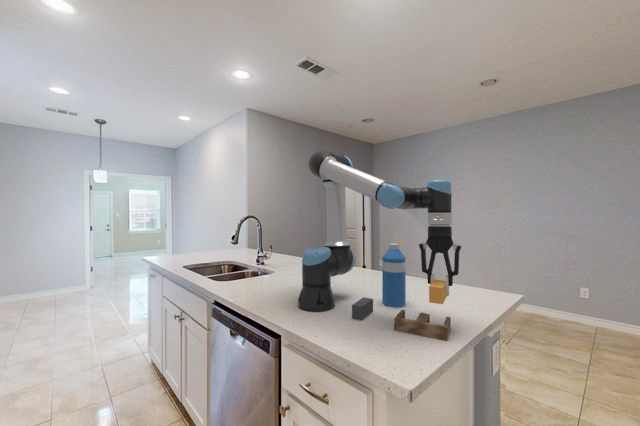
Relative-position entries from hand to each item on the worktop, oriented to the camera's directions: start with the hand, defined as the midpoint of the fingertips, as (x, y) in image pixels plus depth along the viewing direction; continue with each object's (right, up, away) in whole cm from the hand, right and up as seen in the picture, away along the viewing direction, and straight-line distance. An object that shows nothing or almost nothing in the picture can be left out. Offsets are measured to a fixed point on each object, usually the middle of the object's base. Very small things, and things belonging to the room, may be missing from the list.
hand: (440, 294), depth 97 cm
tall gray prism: (-25, -11, +10) cm, 29 cm away
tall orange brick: (-2, -1, -4) cm, 4 cm away
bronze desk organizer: (-8, -10, -4) cm, 13 cm away
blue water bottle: (-10, -11, +22) cm, 27 cm away
